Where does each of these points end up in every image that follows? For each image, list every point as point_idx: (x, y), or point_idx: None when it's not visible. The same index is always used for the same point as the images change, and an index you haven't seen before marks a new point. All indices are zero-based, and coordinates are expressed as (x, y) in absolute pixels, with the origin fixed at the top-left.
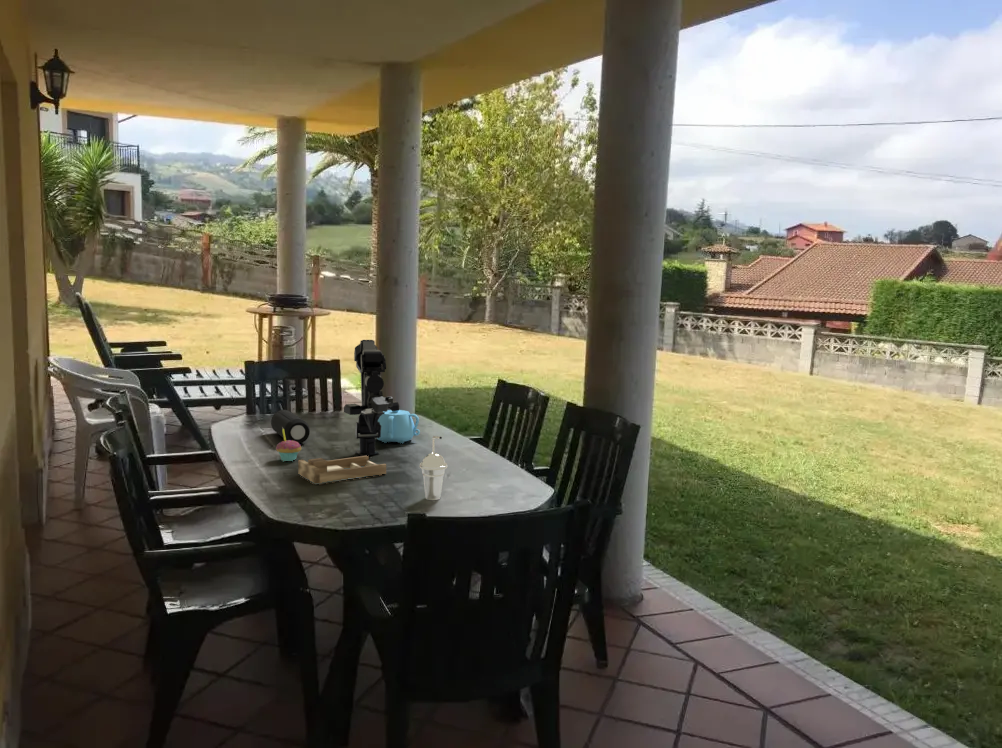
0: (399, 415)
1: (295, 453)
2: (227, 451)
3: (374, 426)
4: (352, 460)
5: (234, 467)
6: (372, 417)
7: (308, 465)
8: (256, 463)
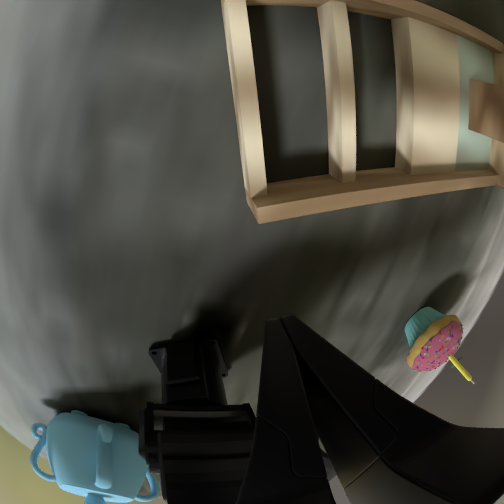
0: (78, 485)
1: (428, 323)
2: (434, 373)
3: (279, 367)
4: (348, 187)
5: (494, 280)
6: (399, 467)
7: None
8: (465, 302)
